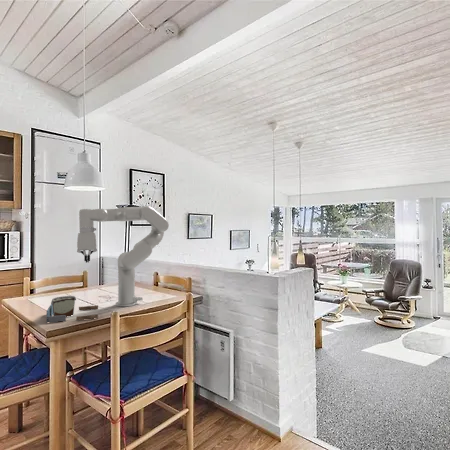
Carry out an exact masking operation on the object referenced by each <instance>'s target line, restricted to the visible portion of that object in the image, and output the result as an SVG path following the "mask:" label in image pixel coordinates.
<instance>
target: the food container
mask: <svg viewBox="0 0 450 450" xmlns="http://www.w3.org/2000/svg"><path fill="white" fill-rule="evenodd" d="M50 301H51V302H50V305H51V304H53V316H59V315H66V318H68V317H67V316H70V317H72V316H71V315H73V316H74V312H75V303H76V301H77V299H76V296H74V295H65V296H57V297H53V298H52V300H50Z"/></svg>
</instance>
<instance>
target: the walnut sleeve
mask: <svg viewBox="0 0 450 450" xmlns="http://www.w3.org/2000/svg"><path fill="white" fill-rule="evenodd" d="M91 309H94V310H99V305H98V304H97V305H87V306H78V311H79V310H83V311H90V310H91ZM91 311H92V310H91ZM75 318H76V319H75V321H76V320H80V321H85V320H84V319H91V320H95V319H94V318H98V319H99V316H98V314H89V315H76V317H75Z"/></svg>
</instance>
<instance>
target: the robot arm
mask: <svg viewBox="0 0 450 450" xmlns="http://www.w3.org/2000/svg"><path fill="white" fill-rule="evenodd" d="M78 212H79V213H78V215H79V217H78V221H79V223H78V224H79V232H78V233H77V242H76V248H77V250H76V252H77V253H79V254H82V255H83V256H84V259H83V260H84V262H85V263H90V261H91V255H92V254H93V253H95V252H96V253H97V252H98V249H97V246H98V245H97V237H96V236H97V235H96V232H95V231H97V227H96V228H95V227H94V225H95V224H94V222H98V223H101V222H103V223H104V222H134V221H135V222H137V221H146V222H147V223H148V224H150V225H151V230H150V233H149V234H148V235H146V236H144V238H142V239H141V240H139V241H138V242H136V243H135V244H134V246H133V248H132V249H131V250H130V251H123V252H121V254H119V256H118V258H117V271H118V272H117V274H118V275H117V276H118V278H117V281H118V283H117V287H118V289H117V291H118V293H117V302H115V306H116V307H123V308H124V307H125V308H127V307H132V306H135V305H138V302H139V301H143V297H141V296H138V297H137V296H136V292H135V287H136V285H135V282H136V280H135V279H136V278H135V277H136V276H135V268H136V267H137V266H139V265H141V263H143V262H144V261H145V260H146V259H148V258H149V257H150V256H151V254H152V253H153V249H155V247H156V246H158V245H159V244H160V243H161V242H162V240H163V238H164V234H165V232H166V231H167V230H168V229H169V225H170V224H169V221H168V220H167V219H166V218H165V217H164V216H163V215H162V214H160V213H159V212H158V211H157V210H155V209H154V208H153V207H151V206H149V205H146V206H127V207H126V206H124V207H117V208H106V209H105V208H95V209H91V208H82V209H81V208H80V209H79V211H78ZM86 251H88V253H87V252H86Z"/></svg>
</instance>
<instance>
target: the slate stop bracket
mask: <svg viewBox="0 0 450 450" xmlns="http://www.w3.org/2000/svg"><path fill="white" fill-rule="evenodd" d="M52 315H53V316H52ZM66 318H67V317H66V315H59V316H54V314H53V304H51V303H50V305H49V306H48V308H47V309H46V323H47V322H54V323H58V322H57V321H64V322H66V321H67V320H66Z"/></svg>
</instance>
